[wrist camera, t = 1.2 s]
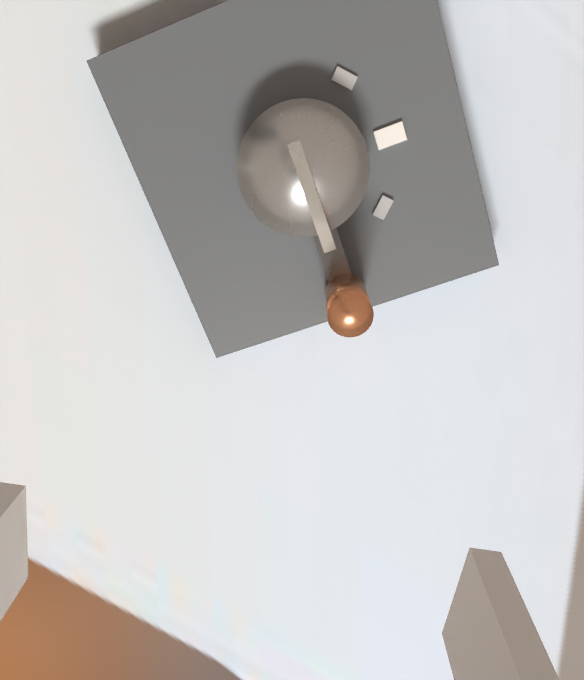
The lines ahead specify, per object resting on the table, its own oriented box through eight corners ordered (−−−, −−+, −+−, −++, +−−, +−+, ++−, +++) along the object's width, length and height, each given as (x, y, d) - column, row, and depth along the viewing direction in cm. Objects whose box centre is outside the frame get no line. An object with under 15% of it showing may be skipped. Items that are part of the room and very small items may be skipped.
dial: (220, 127, 30) (206, 127, 26) (344, 79, 29) (350, 70, 25) (296, 328, 34) (294, 356, 30) (407, 291, 33) (421, 315, 29)
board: (99, 64, 31) (85, 60, 29) (410, -68, 29) (418, -83, 27) (221, 346, 37) (215, 359, 35) (488, 257, 35) (500, 265, 33)
